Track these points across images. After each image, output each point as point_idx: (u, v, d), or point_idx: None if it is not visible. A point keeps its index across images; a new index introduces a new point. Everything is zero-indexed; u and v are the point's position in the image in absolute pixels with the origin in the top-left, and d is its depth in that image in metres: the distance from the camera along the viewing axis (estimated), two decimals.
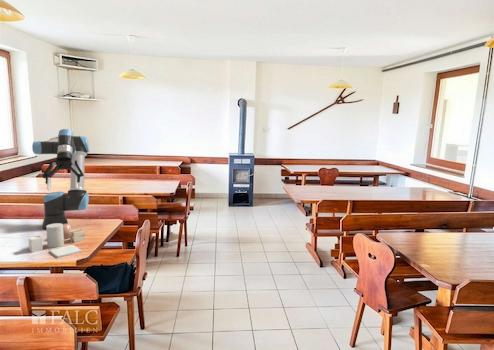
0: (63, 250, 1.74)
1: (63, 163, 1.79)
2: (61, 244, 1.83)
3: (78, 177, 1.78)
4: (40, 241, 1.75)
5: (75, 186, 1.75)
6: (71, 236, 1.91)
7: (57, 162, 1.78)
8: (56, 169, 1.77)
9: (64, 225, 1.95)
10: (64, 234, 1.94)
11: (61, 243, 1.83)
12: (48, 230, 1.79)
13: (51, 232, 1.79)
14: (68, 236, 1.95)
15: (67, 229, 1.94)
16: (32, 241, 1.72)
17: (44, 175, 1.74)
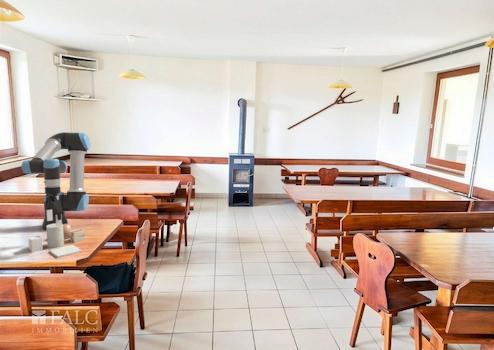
0: (63, 250, 1.74)
1: None
2: (61, 244, 1.83)
3: (57, 215, 1.75)
4: (40, 241, 1.75)
5: (56, 225, 1.76)
6: (71, 236, 1.91)
7: (48, 195, 1.81)
8: (49, 202, 1.82)
9: (64, 225, 1.95)
10: (64, 234, 1.94)
11: (61, 243, 1.83)
12: (48, 230, 1.79)
13: (51, 232, 1.79)
14: (68, 236, 1.95)
15: (67, 229, 1.94)
16: (32, 241, 1.72)
17: (45, 207, 1.85)
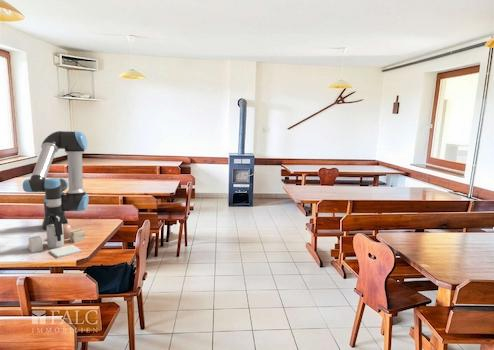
0: (63, 250, 1.74)
1: None
2: None
3: (57, 236, 1.79)
4: (40, 241, 1.75)
5: (56, 246, 1.80)
6: (71, 236, 1.91)
7: (50, 214, 1.82)
8: (51, 222, 1.83)
9: (64, 225, 1.95)
10: (64, 234, 1.94)
11: None
12: (48, 230, 1.79)
13: (51, 232, 1.79)
14: (68, 236, 1.95)
15: (67, 229, 1.94)
16: (32, 241, 1.72)
17: None
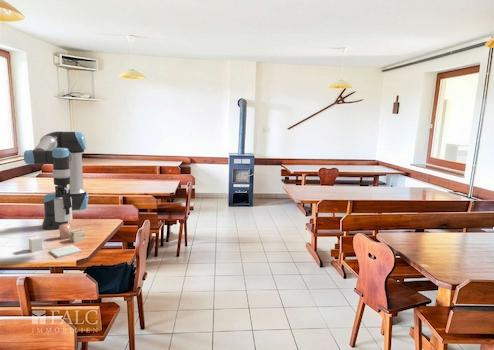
0: (63, 250, 1.74)
1: None
2: None
3: (66, 210, 1.67)
4: (40, 241, 1.75)
5: (64, 220, 1.68)
6: (71, 236, 1.91)
7: (57, 186, 1.71)
8: (59, 195, 1.71)
9: (64, 225, 1.95)
10: (64, 234, 1.94)
11: None
12: (56, 203, 1.67)
13: (59, 205, 1.67)
14: (68, 236, 1.96)
15: (67, 228, 1.94)
16: (32, 241, 1.72)
17: None
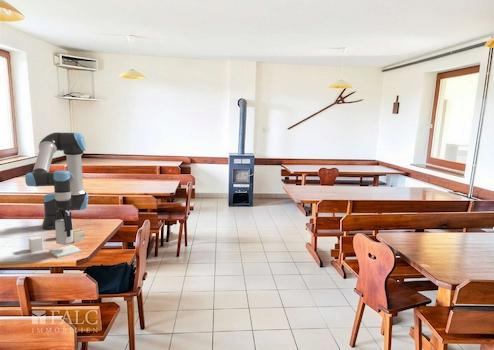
0: (63, 250, 1.74)
1: None
2: None
3: (67, 232, 1.69)
4: (40, 241, 1.75)
5: (65, 242, 1.70)
6: None
7: (59, 209, 1.73)
8: (60, 217, 1.73)
9: None
10: None
11: None
12: (57, 225, 1.69)
13: (60, 228, 1.69)
14: None
15: None
16: (32, 241, 1.72)
17: None
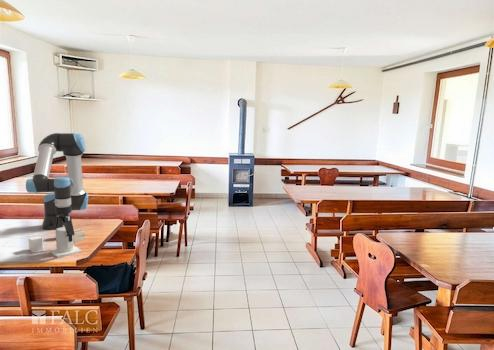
0: None
1: None
2: (71, 249, 1.74)
3: (69, 237, 1.68)
4: (40, 241, 1.75)
5: (67, 247, 1.69)
6: None
7: (59, 215, 1.73)
8: (59, 222, 1.74)
9: None
10: None
11: (71, 248, 1.74)
12: (57, 234, 1.70)
13: (60, 237, 1.70)
14: None
15: None
16: (32, 241, 1.72)
17: (55, 226, 1.78)
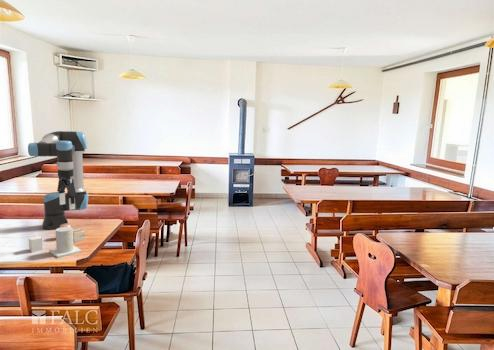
0: None
1: None
2: (71, 249, 1.74)
3: (71, 199, 1.71)
4: (40, 241, 1.75)
5: (69, 209, 1.72)
6: None
7: (61, 178, 1.76)
8: (62, 186, 1.77)
9: (65, 225, 1.95)
10: None
11: (71, 248, 1.74)
12: (57, 234, 1.70)
13: (60, 237, 1.70)
14: None
15: None
16: (32, 241, 1.72)
17: (58, 190, 1.81)
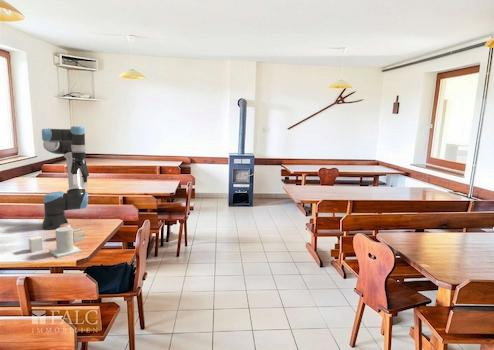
0: None
1: None
2: (71, 249, 1.74)
3: (84, 178, 1.92)
4: (40, 241, 1.75)
5: (82, 187, 1.93)
6: None
7: (75, 160, 1.97)
8: (75, 167, 1.98)
9: (65, 225, 1.95)
10: None
11: (71, 248, 1.74)
12: (57, 234, 1.70)
13: (60, 237, 1.70)
14: None
15: None
16: (32, 241, 1.72)
17: (71, 171, 2.02)
